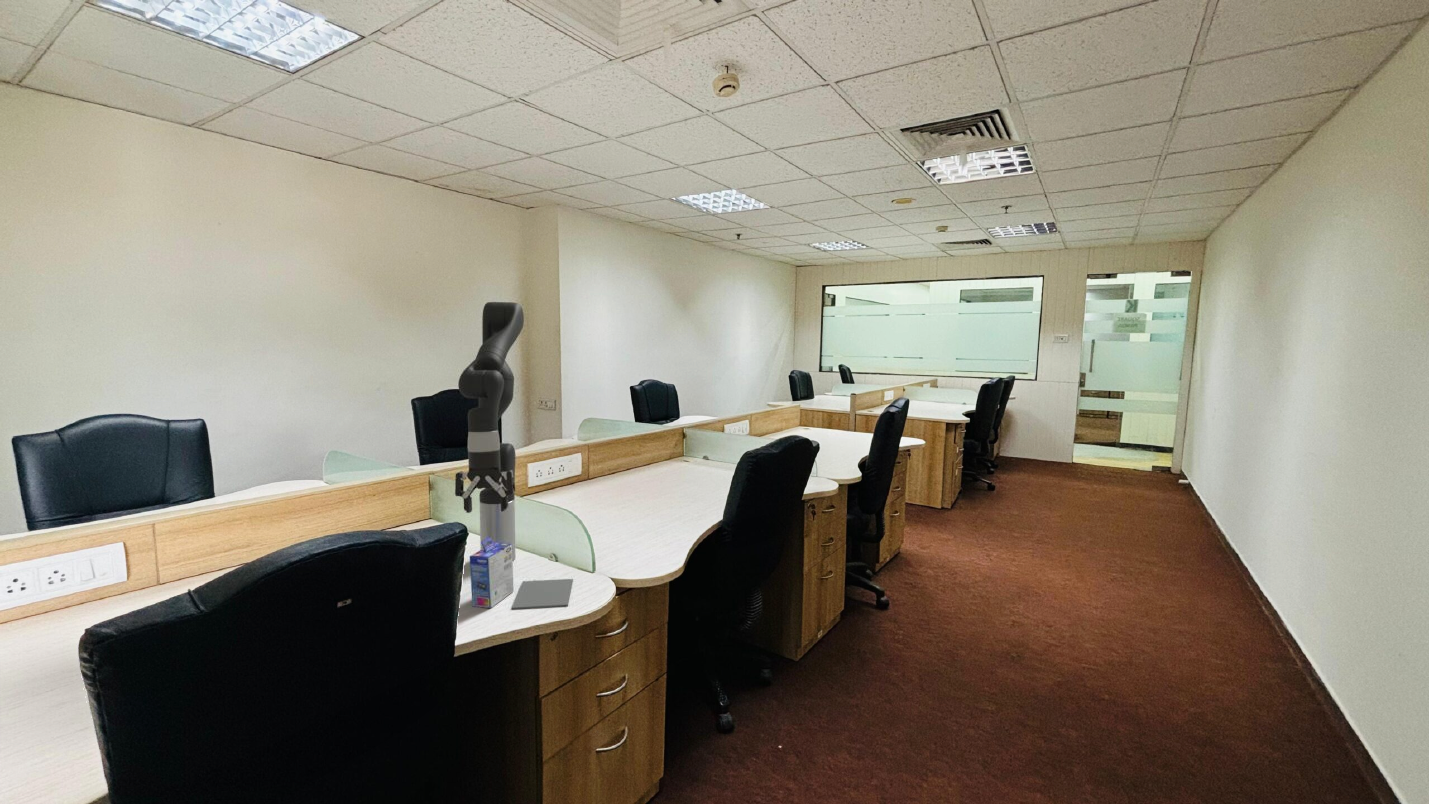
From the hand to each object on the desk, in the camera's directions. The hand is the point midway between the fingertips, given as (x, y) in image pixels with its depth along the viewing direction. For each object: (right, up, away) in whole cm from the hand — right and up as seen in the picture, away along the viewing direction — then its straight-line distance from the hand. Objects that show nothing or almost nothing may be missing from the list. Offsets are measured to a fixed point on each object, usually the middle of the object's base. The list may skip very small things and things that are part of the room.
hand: (486, 511), depth 144 cm
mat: (+17, -19, -6) cm, 26 cm away
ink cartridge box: (+5, -19, -9) cm, 22 cm away
